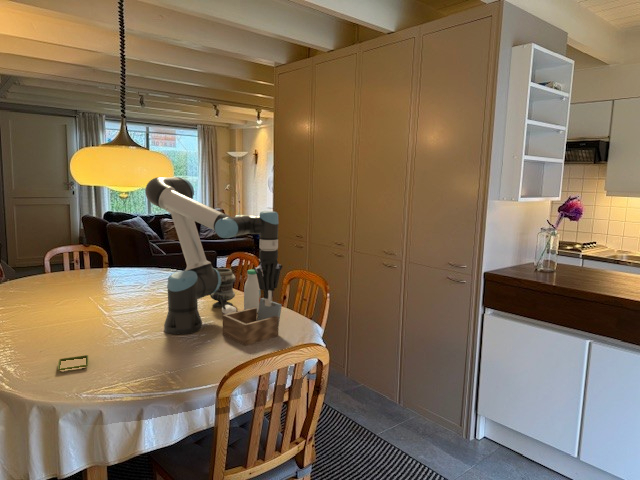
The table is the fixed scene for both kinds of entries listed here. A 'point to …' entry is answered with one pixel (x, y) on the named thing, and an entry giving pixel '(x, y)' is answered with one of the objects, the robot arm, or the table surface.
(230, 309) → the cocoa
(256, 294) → the milk bottle
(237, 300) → the table surface
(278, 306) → the panel
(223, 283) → the apothecary jar
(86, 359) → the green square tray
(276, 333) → the crate
